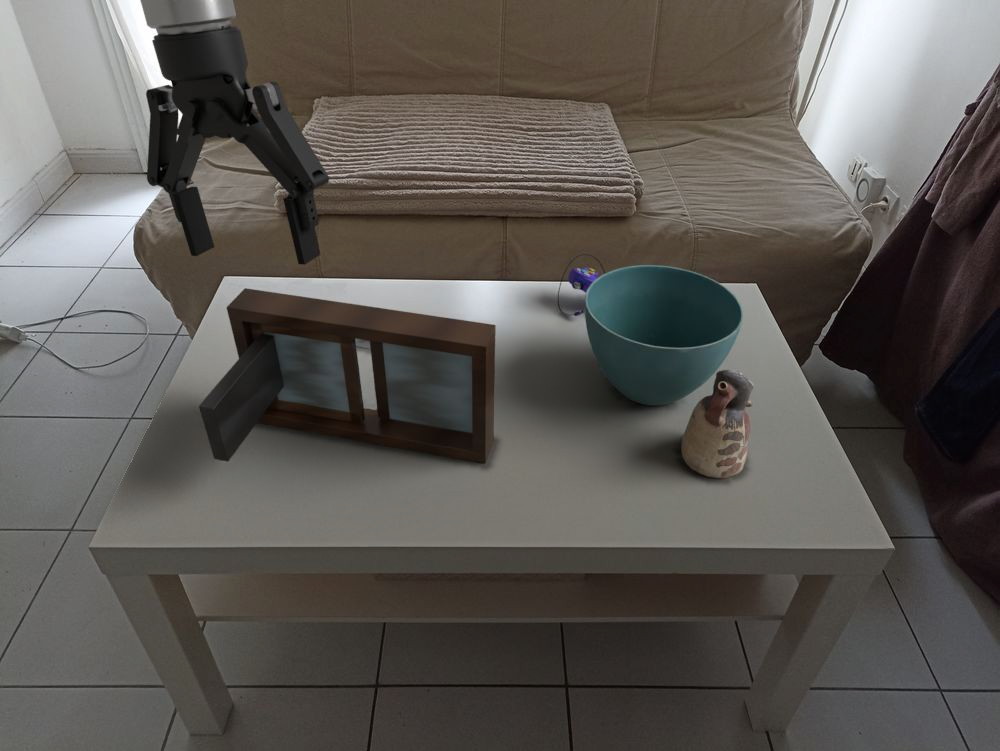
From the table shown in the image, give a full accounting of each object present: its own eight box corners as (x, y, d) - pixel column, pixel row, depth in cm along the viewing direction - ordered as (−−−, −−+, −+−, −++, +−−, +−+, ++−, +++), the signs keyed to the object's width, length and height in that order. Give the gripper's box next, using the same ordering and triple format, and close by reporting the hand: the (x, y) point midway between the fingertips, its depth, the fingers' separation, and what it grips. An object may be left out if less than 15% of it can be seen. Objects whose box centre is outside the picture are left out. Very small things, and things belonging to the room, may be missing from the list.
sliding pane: (212, 483, 78) (184, 390, 70) (272, 402, 88) (252, 314, 81) (316, 503, 76) (298, 410, 68) (365, 419, 86) (354, 330, 79)
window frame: (254, 422, 88) (226, 307, 78) (270, 401, 91) (244, 287, 81) (485, 463, 83) (486, 346, 74) (493, 439, 87) (495, 324, 77)
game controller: (632, 265, 111) (641, 288, 102) (610, 313, 115) (617, 339, 106) (569, 243, 110) (573, 264, 101) (549, 292, 114) (551, 317, 105)
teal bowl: (549, 393, 93) (555, 310, 86) (619, 327, 105) (630, 249, 98) (684, 455, 85) (704, 369, 78) (744, 376, 97) (766, 294, 89)
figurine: (756, 459, 85) (783, 375, 77) (719, 489, 81) (744, 404, 74) (704, 427, 89) (725, 344, 82) (667, 454, 85) (685, 370, 78)
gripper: (337, 14, 65) (378, 249, 75) (123, 29, 74) (187, 236, 84) (284, 25, 59) (336, 278, 69) (59, 40, 68) (136, 261, 78)
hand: (254, 255), depth 77 cm, fingers open, 13 cm apart
